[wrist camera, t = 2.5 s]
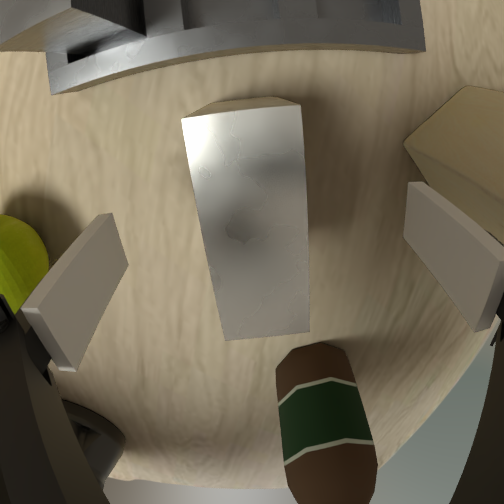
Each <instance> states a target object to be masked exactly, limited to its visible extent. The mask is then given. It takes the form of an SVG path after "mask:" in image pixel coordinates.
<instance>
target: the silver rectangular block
mask: <svg viewBox="0 0 504 504" xmlns="http://www.w3.org/2000/svg"><path fill="white" fill-rule="evenodd" d="M182 126H183V132H184V138H185V144H186V150H187V156H188V162H189V167H190V173H191V179H192V184H193V190H194V195H195V200H196V206H197V211H198V216H199V221H200V226H201V231H202V236H203V241H204V246H205V251H206V256H207V261H208V266H209V270H210V275H211V280H212V284H213V289H214V294H215V298H216V303H217V307H218V311H219V316H220V320H221V325H222V329H223V333H224V337H225V341H227V340H239V339H250V338H261V337H270V336H279V335H288V334H296V333H305V332H310V293H309V240H308V211H307V189H306V171H305V155H304V140H303V126H302V114H301V105H299V104H296V103H293V102H290V101H287V100H284V99H281V98H278V97H275V96H268V97H258V98H248V99H239V100H231V101H223V102H216V103H210V104H208V105H206V106H204V107H203V108H201V109H199V110H197V111H195V112H193V113H191V114H190V115H188V116H186V117H184V118H182Z"/></svg>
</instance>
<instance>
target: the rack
mask: <svg viewBox="0 0 504 504" xmlns="http://www.w3.org/2000/svg"><path fill="white" fill-rule="evenodd" d="M287 50H359V51H375V52H387V53H397V54H403V53H413V52H425V51H426V47H425V37H424V28H423V20H422V13H421V7H420V0H0V52H4V51H28V52H46V60H47V69H48V76H49V83H50V90H51V95H56V94H62V93H69V92H77V91H80V90H83V89H86V88H89V87H92V86H95V85H98V84H101V83H104V82H108V81H111V80H114V79H118V78H121V77H125V76H129V75H132V74H136V73H140V72H144V71H148V70H152V69H157V68H161V67H166V66H170V65H175V64H180V63H185V62H191V61H197V60H202V59H209V58H215V57H222V56H230V55H238V54H248V53H258V52H271V51H287Z"/></svg>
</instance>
